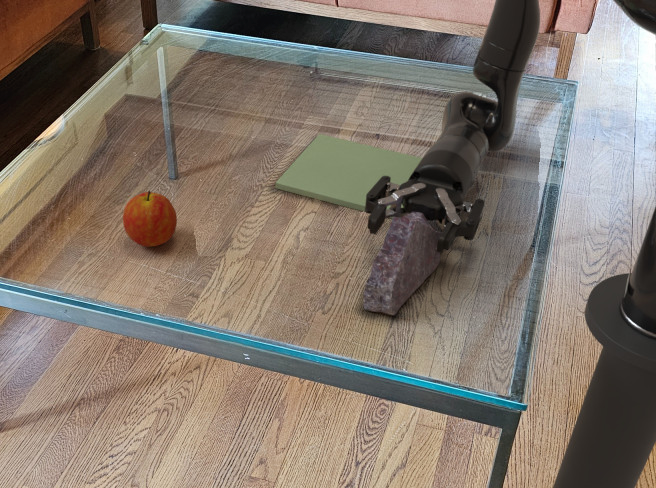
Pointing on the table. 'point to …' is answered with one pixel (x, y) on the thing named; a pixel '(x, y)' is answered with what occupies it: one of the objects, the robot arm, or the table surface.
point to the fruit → (149, 219)
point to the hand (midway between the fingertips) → (406, 237)
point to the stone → (401, 263)
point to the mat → (344, 171)
